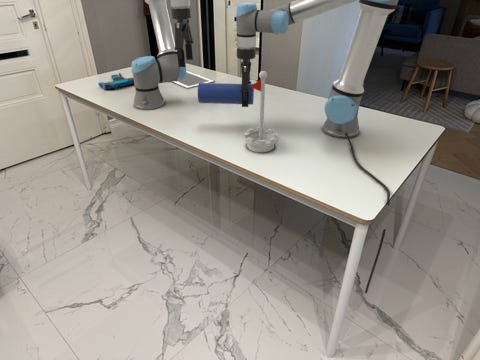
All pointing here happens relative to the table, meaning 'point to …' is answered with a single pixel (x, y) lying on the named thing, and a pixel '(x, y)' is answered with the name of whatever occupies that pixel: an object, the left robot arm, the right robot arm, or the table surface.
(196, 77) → the tablet
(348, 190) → the table surface
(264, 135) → the flag stand
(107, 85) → the submachine gun
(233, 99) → the rod
